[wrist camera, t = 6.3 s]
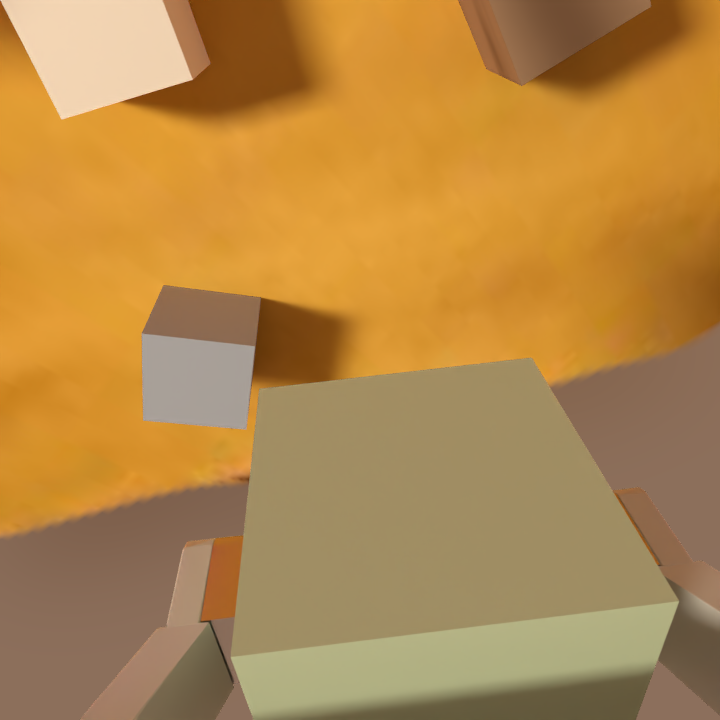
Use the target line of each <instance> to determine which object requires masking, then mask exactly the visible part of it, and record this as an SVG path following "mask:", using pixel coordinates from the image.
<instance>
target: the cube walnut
mask: <svg viewBox="0 0 720 720" xmlns="http://www.w3.org/2000/svg"><path fill="white" fill-rule="evenodd" d="M458 1H459V3H460V6H461V8H462V11H463V13H464V16H465V18H466V20H467V23H468V25H469V28H470V30H471V33H472V35H473V38H474V40H475V42H476V45H477V47H478V50H479V52H480V55H481V57H482V60H483V62H484V64H485V67H486V69H487V70H490V71H492V72H494V73H496V74H498V75H500V76H502V77H504V78H506V79H508V80H510V81H513V82H515V83H517V84H519V85H521V86H522V85H524V84H526V83H527V82H529V81H530V80H532V79H534V78H535V77H537V76H539V75H540V74H542V73H544V72H545V71H547V70H548V69H550V68H552V67H553V66H555V65H557V64H558V63H560V62H562V61H563V60H565V59H566V58H568V57H570V56H571V55H573V54H575V53H576V52H578V51H580V50H581V49H583V48H584V47H586V46H588V45H589V44H591V43H593V42H594V41H596V40H598V39H599V38H601V37H602V36H604V35H606V34H607V33H609V32H611V31H612V30H614V29H616V28H617V27H619V26H620V25H622V24H624V23H625V22H627V21H629V20H630V19H632V18H634V17H635V16H637V15H638V14H640V13H642V12H643V11H645V10H647V9H648V8H650V7H652V6H651V2H650V0H458Z"/></svg>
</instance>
